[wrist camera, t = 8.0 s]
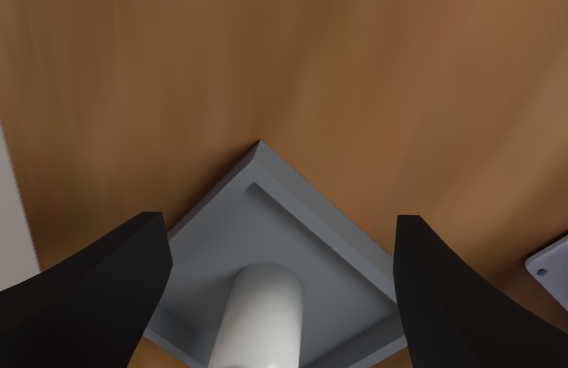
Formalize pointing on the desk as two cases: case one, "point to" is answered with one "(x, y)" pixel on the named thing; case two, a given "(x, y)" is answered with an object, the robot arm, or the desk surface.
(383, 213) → the desk surface
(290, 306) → the shaker
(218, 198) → the tray
